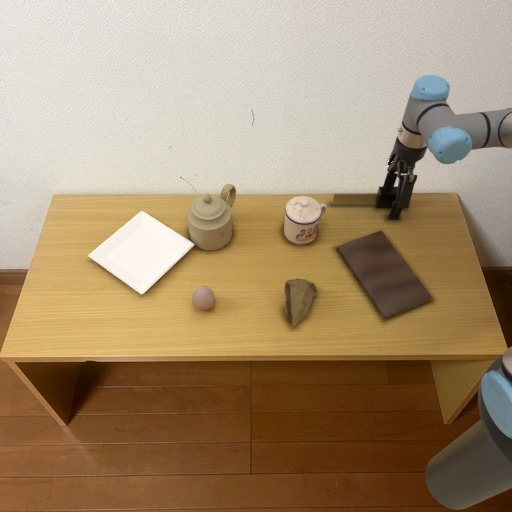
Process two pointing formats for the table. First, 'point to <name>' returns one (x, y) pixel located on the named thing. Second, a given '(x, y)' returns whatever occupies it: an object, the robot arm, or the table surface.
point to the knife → (368, 198)
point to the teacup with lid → (302, 219)
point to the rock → (298, 298)
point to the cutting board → (383, 274)
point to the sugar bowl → (211, 219)
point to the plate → (141, 251)
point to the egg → (203, 298)
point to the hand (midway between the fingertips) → (390, 204)
